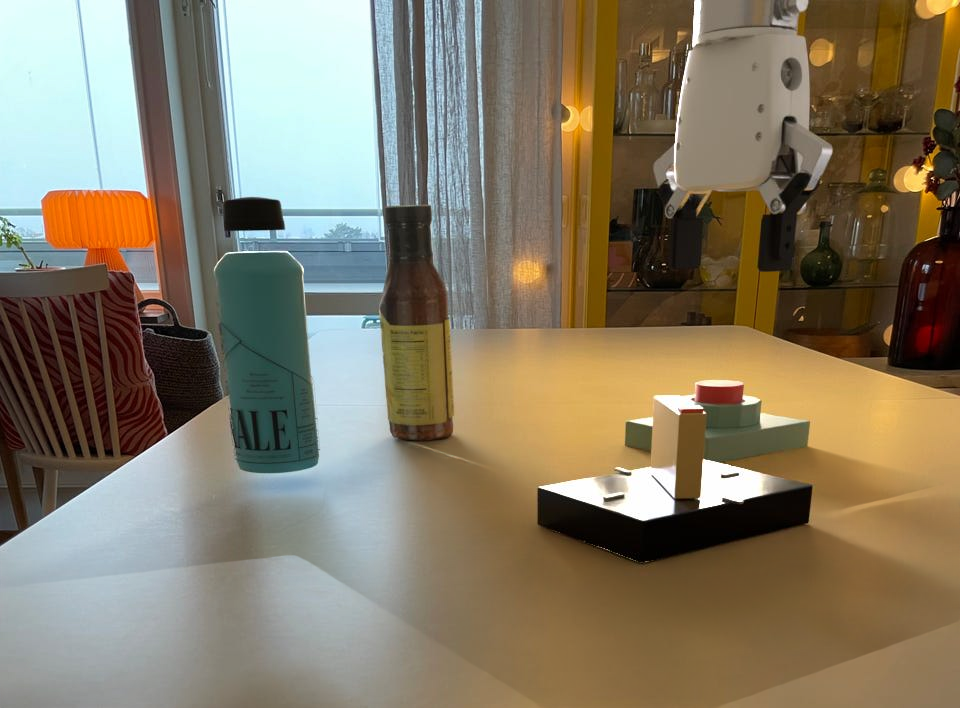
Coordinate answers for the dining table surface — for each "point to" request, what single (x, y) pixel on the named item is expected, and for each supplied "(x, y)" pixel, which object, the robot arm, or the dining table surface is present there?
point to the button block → (732, 431)
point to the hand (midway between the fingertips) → (727, 270)
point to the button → (719, 392)
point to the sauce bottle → (415, 331)
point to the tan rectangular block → (678, 446)
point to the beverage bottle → (266, 347)
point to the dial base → (672, 510)
